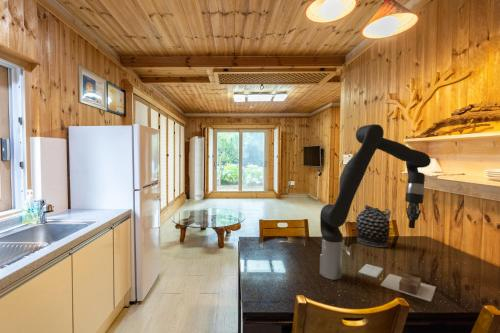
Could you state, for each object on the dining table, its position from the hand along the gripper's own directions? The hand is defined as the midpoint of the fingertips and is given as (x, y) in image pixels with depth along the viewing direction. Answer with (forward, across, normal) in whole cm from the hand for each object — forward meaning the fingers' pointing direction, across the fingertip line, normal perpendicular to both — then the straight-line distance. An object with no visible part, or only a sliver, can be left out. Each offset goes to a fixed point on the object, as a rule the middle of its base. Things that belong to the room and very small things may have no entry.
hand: (411, 227), depth 125 cm
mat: (+25, +15, -4) cm, 29 cm away
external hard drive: (+25, +4, -17) cm, 30 cm away
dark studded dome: (+16, -40, -8) cm, 44 cm away
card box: (+22, +13, -2) cm, 25 cm away
